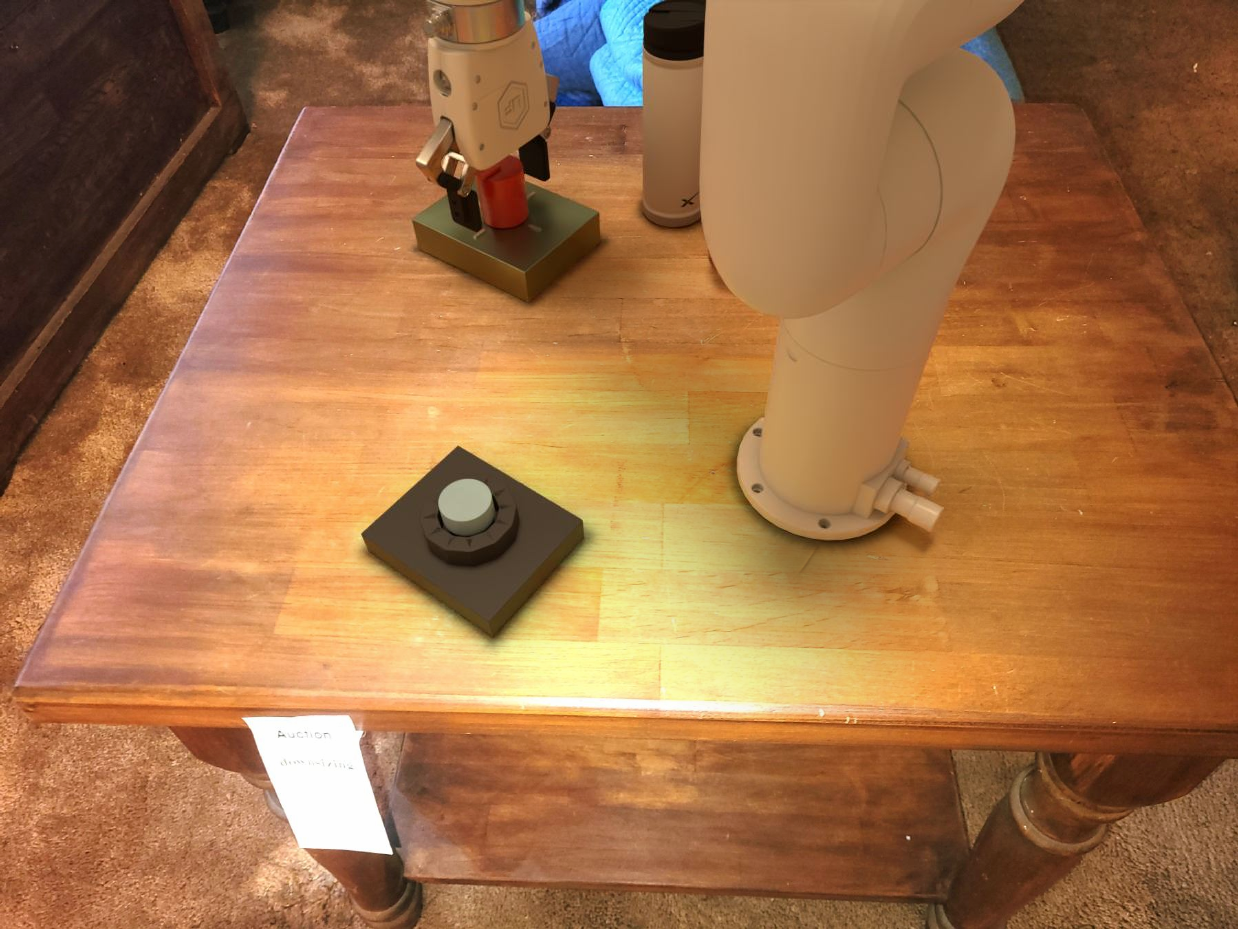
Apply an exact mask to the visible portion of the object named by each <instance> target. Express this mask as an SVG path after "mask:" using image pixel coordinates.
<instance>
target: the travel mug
mask: <svg viewBox="0 0 1238 929" xmlns="http://www.w3.org/2000/svg"><path fill="white" fill-rule="evenodd" d="M647 10H648V11H647V12H646V13H645V14H644V15H643V19H642V33H643V36H642V44H641V45H642V49H641V50H642V59H641V60H642V61H641V62H642V212H643V214H644V216H645V217H646V218H647V219H648V220H649V221H651V222H652V223H654V224H656V225H659V226H661V227H667V228H681V227H687V226H689V225H693V224H694V223H696V222H697V221H699V220H701V210H700V185H699V178H700V145H701V118H702V90H703V63H704V35H705V14H706V0H661V1H658V2H656V3H654V4H653V5H651V6H650V7H649V8H648V9H647Z"/></svg>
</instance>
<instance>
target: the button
mask: <svg viewBox="0 0 1238 929" xmlns="http://www.w3.org/2000/svg"><path fill="white" fill-rule="evenodd" d="M438 505H439V509H440V513H441V516H442V519H443V523H444V525H445V527H446V528H447V529H448V530H449V531H450V532H452V533H454V534H456V535H460V536H471V535H475V534H478V533H480V532H482V531H484V530H485V529H486V528H488V527H489V526H490V524H491V523H492V521H493V519H494V516H495V508H494V504H493V499H492V495H491V491H490V489H489V488H488V487H487V486H486V485H485V484H484V483H482V482H481V481H478V480H474V479H462V480H458V481H455V482H453V483H451V484H450V485H448V486H447V487H446V488H445V489H444V490H443V491H442V493H441V494H440V497H439V501H438Z"/></svg>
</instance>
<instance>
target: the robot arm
mask: <svg viewBox="0 0 1238 929" xmlns="http://www.w3.org/2000/svg"><path fill="white" fill-rule="evenodd" d="M424 2H425V6H426V8H425V9H426V13H427V18H424V20H422V22H421V27H422V28H421V29H422V31H423V33H424V34H425V35H426V36H427V37H428V40H427V70H428V86H429V88H428V89H429V96H430V97H429V98H430V106H431V113H432V118H433V120H432V121H433V125H434V131H433V132H432V133H431V135H430V137H429V138H428V139H427V141H426V143H425V145H424V146H423V148H422V149H421V151H420V152H419V154H418V156H417V157H416V159H415V166H416V168H418V169H419V171H420V172H421V173H422V174H423V176H424V177H425V178H427V179H426V180H427V181H428V182H430V183H431V184H434V185H436V186H439V187H440V188H443V189H445V190H446V195H447V196H448V201H449V206H450V211H451V216H452V219H453V221H454V222H455V223H457V224H459V225H461V226H463V227H466V228H468V229H470V230H472V231H474V232H476V233H477V232H479V231H480V230H481V229H482V219H481V213H480V207H479V201H478V195H477V193H476V192H475V191H474V190H472V189H471V188H472V185H473V181H474V178H475V175H476V172H477V170H486V169H488V168H490V167H492V166H494V165H495V164H497V163H498V162H500V161H501V160H503V159H504V158H505V157H507V156H508V155H512V154H513V153H514V152H515V151H517V150H518V159H519V160H520V161H521V162H522V164H523V168H524V175H527V176H529V177H531V178H533V179H536V180H539V181H541V182H547V181H549V180H550V179H551V169H550V158H549V147H548V141H547V140H549V139H550V137H551V136H552V128H551V125H550V124H551V122H552V119H553V118H554V114H555V112H556V108H557V105H556V103H555V101H556V100H557V96H558V91H559V86H560V83H561V82H560V78H559V77H558V76H556V75H553V74H549V73H546V70H545V63H544V58H543V53H542V48H541V44H540V41H539V40H540V39H539V36H538V33H537V30H536V27H535V24H534V20H533V18H532V16H531V14H530V13H529V12H528V11H527V10H525V1H524V0H424ZM1023 2H1025V0H706V14H705V35H704V63H703V90H702V118H701V145H700V178H699V185H700V210H701V218H700V220H701V225H702V226H701V227H702V231H703V235H704V239H705V240H704V241H705V244H706V246H707V251H708V250H709V253H710V256H711V258H712V261H713V263H714V265H715V267H716V269H717V271H718V272H717V273H718V275H719V277H720V278H721V280H722V282H723V283H724V284H725V285H726V287H727V289H728V290H729V291H730V292H731V293H732V294H733V295H734V296H735V297H736V298H737V299H738V300H739V301H740V302H741V303H743V304H744V305H746V306H747V307H748V308H749V309H752V310H753V311H755V312H757V313H759V314H762V315H764V316H766V317H771V318H775V319H779V323H778V324H779V325H778V330H777V336H776V341H775V349H774V355H773V361H772V368H771V374H770V380H769V387H768V391H767V392H768V393H767V399H766V404H765V410H764V416H762V417H760V418H759V419H757V420H756V422H755V423H753V424H752V425H751V426H750V427H749V429H748V430H747V431H746V433H745V434H744V435H743V437H742V440H741V442H740V444H739V446H738V453H737V457H736V475H737V480H738V485H739V486H740V489H741V491H742V493H743V495H744V498H746V500H747V501H748V502H749V504H750V505H751V506H752V508H753V509H754V510H755V511H756V512H757V513H758V514H759V515H761V516H762V517H763V518H764V519H766V521H768V522H770V523H772V524H773V525H774V526H776V527H778V528H780V529H782V530H785V531H787V532H789V533H790V534H793V535H796V536H801V537H804V538H807V539H813V540H821V541H844V540H850V539H853V538H859V537H862V536H864V535H867V534H870V533H871V532H874V531H876V530H878V529H879V528H881V527H882V526H883V525H885V524H886V523H887V522H888V521H889V520H890V519H892V517H893V516H894V515H896V514H897V515H900V516H902V518H905V519H907V521H908V522H910V523H912V524H914V525H916V526H918V527H920V528H922V529H924V530H926V531H928V532H930V533H931V532H933V530H934V528H935V527H936V525H937V523H938V522H939V520H940V518H941V516H942V514H943V512H944V510H945V507H944V506H942V505H940V504H937V503H935V502H933V501H932V500H929V499H927V498H925V497H923V496H921V495H919V496H918V495H917V494H914V493H912V492H910V491H908V490H907V486H910V487H912V488H914V489H915V490H916V491H918V492H920V493H922V494H925V495H927V496H929V497H931V498H932V497H933V496H934V494H935V493H936V491H937V489H938V488H939V485H940V483H941V481H942V480H941V479H939V478H938V477H935V476H933V475H931V474H929V473H927V472H925V471H924V472H923V471H921V470H919V469H916V468H914V467H912V466H911V465H912V462H911V461H909V460H908V459H906V456H907V453H908V450H909V447H910V445H911V441H910V440H909V439H907V438H905V437H903V436H902V435H903V433H904V430H905V427H906V425H907V424H906V423H907V421H908V419H909V415H910V413H911V410H912V409H911V408H912V406H913V403H914V402H915V398H916V395H917V392H918V389H919V387H920V383H921V380H922V378H923V375H924V372H925V370H926V366H927V364H928V360H929V358H930V354H931V352H932V349H933V347H934V343H935V341H936V339H937V336H938V334H939V330H940V328H941V325H942V322H943V319H944V317H945V313H946V312H947V308H948V305H949V302H950V301H951V297H952V296H953V292H954V291H955V288H956V285H957V282H958V280H959V278H960V276H961V274H962V271H963V269H964V267H965V266H966V263H967V261H968V260H969V257H970V255H971V253H972V252H973V250H974V248H975V245H976V244H977V242H978V241H979V238H980V236H981V235H982V233H983V231H984V229H985V228H986V225H987V223H988V221H989V219H990V217H991V215H992V213H993V212H994V209H995V208H996V205H997V203H998V201H999V199H1000V197H1001V195H1002V193H1003V190H1004V187H1005V184H1006V182H1007V179H1008V177H1009V173H1010V170H1011V167H1012V162H1013V158H1014V152H1015V147H1016V146H1015V145H1016V134H1017V132H1016V119H1015V118H1016V117H1015V112H1014V107H1013V103H1012V100H1011V97H1010V94H1009V91H1008V90H1007V88H1006V85H1005V84H1004V82H1003V80H1002V79H1001V77H1000V76H999V74H998V73H997V71H995V70H994V68H992V67H991V66H990V64H988V63H987V62H986V61H985V60H984V59H983V58H981V57H980V56H978V55H977V54H975V53H973V52H970V51H969V50H967V49H964V48H961V47H962V46H964V45H965V44H967V43H970V42H971V41H973V40H974V39H976V38H977V37H979V36H980V35H982V34H984V33H986V32H987V31H989V30H991V29H992V28H993V27H995V26H996V25H998V24H999V23H1001V22H1003V20H1004V19H1006V18H1007V17H1009V16H1010V15H1011V14H1012V13H1013V12H1014V11H1016V9H1017V8H1019V6H1020V5H1022V3H1023ZM442 161H443V162H442ZM459 162H460V163H462V164H463V167H462V171H461V173H460V177H459V178H458V177H456V176H455V174H456V170H457V168H458V164H459ZM709 253H708V254H709Z"/></svg>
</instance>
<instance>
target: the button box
mask: <svg viewBox="0 0 1238 929" xmlns="http://www.w3.org/2000/svg"><path fill="white" fill-rule="evenodd" d="M462 479H474V480H478V481H481V482H482V483H484V484H485V485H486V486H487V487H488V488H489V489H490V491H491V495H492V499H493V504H494V508H495V516H494V519H493V521H492V523H491V524H490V526H489V527H488V528H486V529H485V530H484V531H482V532H480V533H478V534H475V535H471V536H460V535H456V534H454V533H452V532H450V531H449V530H448V529H447V528H446V527H445V525H444V523H443V519H442V516H441V513H440V509H439V505H438V501H439V497H440V494H441V493H442V491H443V490H444V489H445V488H446V487H447V486H448V485H450V484H451V483H453V482H455V481H458V480H462ZM360 536H361V537H362V540H363V542H364V544H365V547H366V549H367V552H369V553H370V554H372V555H374V556H375V557H376V558H377V559H379V560H381V561H382V563H383V562H384V563H385V564H386V565H388V566H389V567H390V568H392V569H394V570H395V571H396V572H398V573H399V574H401V576H403V577H405V578H406V579H408V580H409V581H410V582H412V583H413V584H415V586H418V587H419V588H421V589H422V590H423V591H425V592H426V593H427V594H429V595H431V596H432V597H433V598H435V599H436V600H438V601H439V602H441V603H442V604H443V605H445V606H446V607H448V608H449V609H451V610H452V611H453V612H455V613H456V614H458V615H459V616H461V617H462V618H464V619H465V620H467V621H468V622H469V623H471V624H472V625H473V626H475V627H476V628H478V629H479V630H481V631H483V632H484V633H485V634H487V635H488V636H489V637H491V638H492V639H493V638H495V636H496V635H497V634H498V633H499V632H500V631H501V630H502V629H503V627H504V626H505V625H506V624H507V623H508V622H509V621H510V620H511V619H512V618H513V616H514V615H515V614H517V612H518V611H519V610H520V609H521V608H522V607H523V605H524V604H525V603H526V602H528V600H529V599H530V598H531V597H532V596H533V595H534V593H535V592H536V591H537V590H538V589H539V588H540V587H541V586H542V585H543V584H544V582H545V581H546V580H547V579H548V578H549V577H550V576H551V575H552V574H553V572H554V571H555V570H556V569H557V568H558V567H559V566H560V565H561V564H562V563H563V561H564V560H565V559H567V557H568V556H569V555H570V554H571V553H572V552H573V550H575V548H576V547H577V546H579V544H580V543H581V542H582V540H583V539H584V538H585V528H584V520H583V519H582V518H580V517H578V516H577V515H576V514H574V513H572V512H570V511H569V510H567V509H565V508H564V507H562V506H560V505H559V504H557V503H555V502H554V501H552V500H550V499H548V498H547V497H545V496H544V495H542V494H540V493H539V492H537V491H535V490H533V489H532V488H530V487H529V486H527V485H525V484H524V483H522V482H521V481H518V480H517V479H515V478H513V477H512V476H510V475H509V474H507V473H505V472H503V471H501V470H500V469H498V468H497V467H495V466H493V465H492V464H490V463H488V462H487V461H485V460H483V458H480V457H478V456H476V455H475V454H474V453H471V452H470V451H468V450H466V449H465V448H463V447H462V446H460V445H457V446H456V447H455V448H453V449H452V450H451V451H450V452H449V453H448V454H447V455H446V456H444V458H442V459H441V460H440V461H439V462H438V463H437V464H436V465H435V466H433V467H432V469H430V470H429V471H428V472H427V473H426V474H425V475H424V476H423V477H422V478H420V479H419V480H418V481H417V482H416V483H415V484H414V485H413V486H411V488H409V489H408V490H407V491H406V492H405V493H404V494H403V495H402V496H400V497H399V499H397V500H396V501H395V502H394V503H393V504H392V505H391V506H389V507H388V509H386V510H385V511H384V512H383V513H382V514H381V515H380V516H379V517H377V518H376V519H375V520H374V521H373V522H372V523H371V524H370V525H369V526H368V527H366V528H365V529H364V530H363V531H361V533H360Z"/></svg>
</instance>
